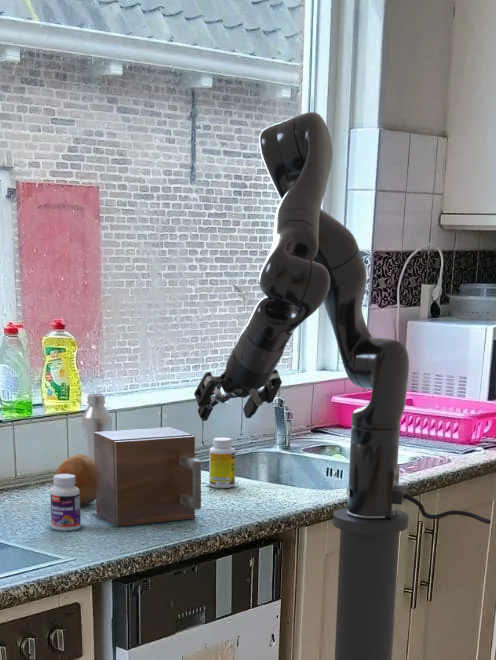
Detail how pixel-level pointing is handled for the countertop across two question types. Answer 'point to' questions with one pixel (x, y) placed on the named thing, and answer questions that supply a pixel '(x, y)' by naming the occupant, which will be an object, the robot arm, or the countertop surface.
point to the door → (156, 480)
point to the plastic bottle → (95, 421)
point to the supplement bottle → (222, 463)
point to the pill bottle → (65, 503)
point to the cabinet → (107, 463)
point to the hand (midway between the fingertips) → (224, 415)
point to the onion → (81, 476)
